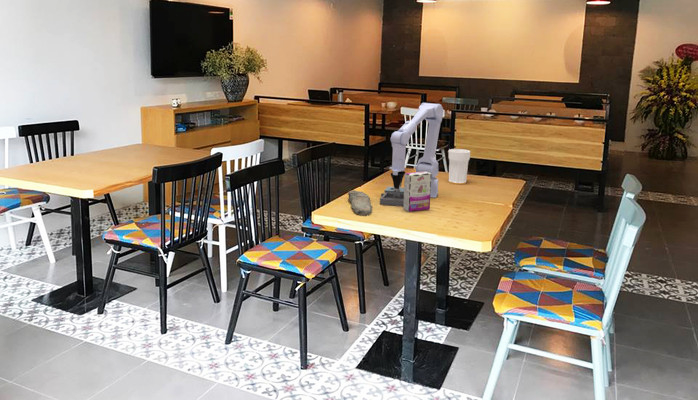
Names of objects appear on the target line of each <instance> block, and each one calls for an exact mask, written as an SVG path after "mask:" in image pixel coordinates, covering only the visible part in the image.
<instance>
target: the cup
mask: <svg viewBox="0 0 698 400" xmlns="http://www.w3.org/2000/svg"><path fill="white" fill-rule="evenodd" d="M447 158H448V161H449V165H448V183H449V184H450V185H460V186H461V185H466V184H467V179H468V178H467V175H468V168H469V167H468V166H469V161H470V159H471V150H468V149H464V148H463V149H462V148H451V149H449V150H448V157H447Z"/></svg>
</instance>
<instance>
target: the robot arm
mask: <svg viewBox="0 0 698 400" xmlns="http://www.w3.org/2000/svg"><path fill="white" fill-rule="evenodd" d="M443 116H444V108H443V106H442V104H440V103H431V102H422V103H421V104H420V105H419V106H418V111H417V112H416V114H415V115H414V116H413V117H412V118H411V120H407V121H405V123H404V124H403V125H402V126H401V127H400V128H399V129H398V130H397V131H396V130H395V131H394V132H392V133H391V137H390V140H389V141H390V142H391V147H392V158H391V159H392V161H391V166H390V167H389V168H388V169H389V170H392V172H390V176H391V179H392V183H393V187H394V189H399V187H401V186H402V182H403V180H404V177H405V173H406V152H407V151H406V150H407V149H406V148H407V147H406V145H408V144H409V141H410V139H411V136H412V135H413V134H414V133H415V132H416V131H417V126H418V125H419V124H421V123H422V121H424V120H425V121H426V122H427V123H428V127H427V134H426V138H425V139H426V140H425V144H424V145H425V146H424V150H423V156H422V157H420V158H419V159H418V161H417V164H416V166H415V172H429V173H431V192H430V198H435V199H436V198H437V197H438V194H439V178H438V177H437V176H438V174H439V162H438V160H437V159H436V149H437V146H438V140H439V135H440V134H439V133H440V128H441V123H442V121H443ZM436 177H437V178H436ZM400 182H401V185H400ZM401 188H402V187H401Z"/></svg>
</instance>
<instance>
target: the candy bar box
mask: <svg viewBox="0 0 698 400" xmlns="http://www.w3.org/2000/svg"><path fill="white" fill-rule="evenodd" d="M403 180H404V182H403V186H404V187H403V188H404V207H402V208H403V210H404V211H406V212H408V213H411V212H413V213H414V212H421V211H429V210H430V209H431V197H430V192H431V173H429V172H416V171H415V172H408V173H407V172H405V174H404V177H403Z"/></svg>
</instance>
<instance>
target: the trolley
mask: <svg viewBox="0 0 698 400" xmlns="http://www.w3.org/2000/svg"><path fill="white" fill-rule="evenodd" d="M386 192H387V193H394V186H386V188H384V193H381V194H380V198H381V197H382V196H383V195H384V194H385V193H386ZM400 194H404V187H400Z"/></svg>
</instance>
